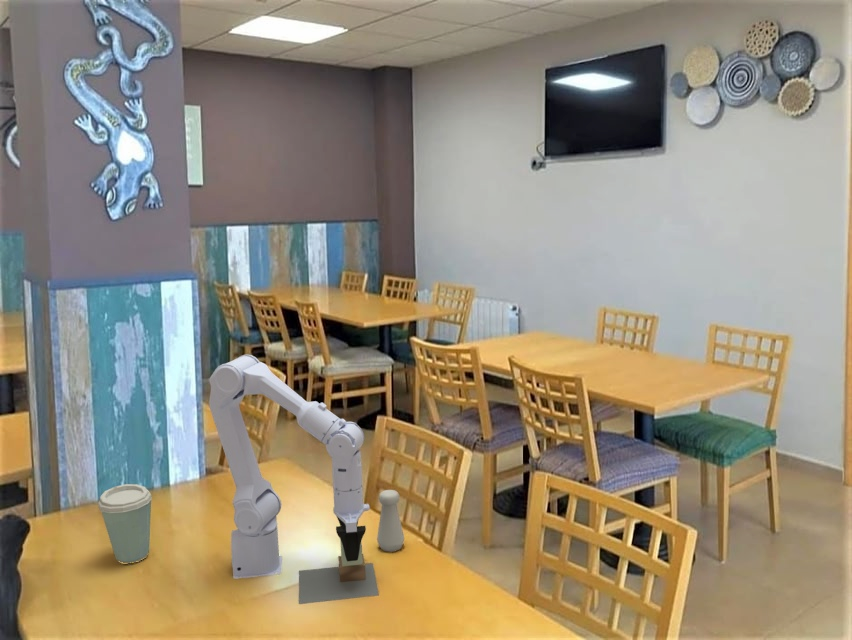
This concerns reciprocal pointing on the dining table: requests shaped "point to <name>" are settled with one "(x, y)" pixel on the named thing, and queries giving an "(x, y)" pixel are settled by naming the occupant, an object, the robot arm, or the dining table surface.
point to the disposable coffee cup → (127, 520)
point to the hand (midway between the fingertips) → (351, 551)
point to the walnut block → (351, 571)
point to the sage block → (350, 563)
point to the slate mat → (334, 585)
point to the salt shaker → (390, 522)
